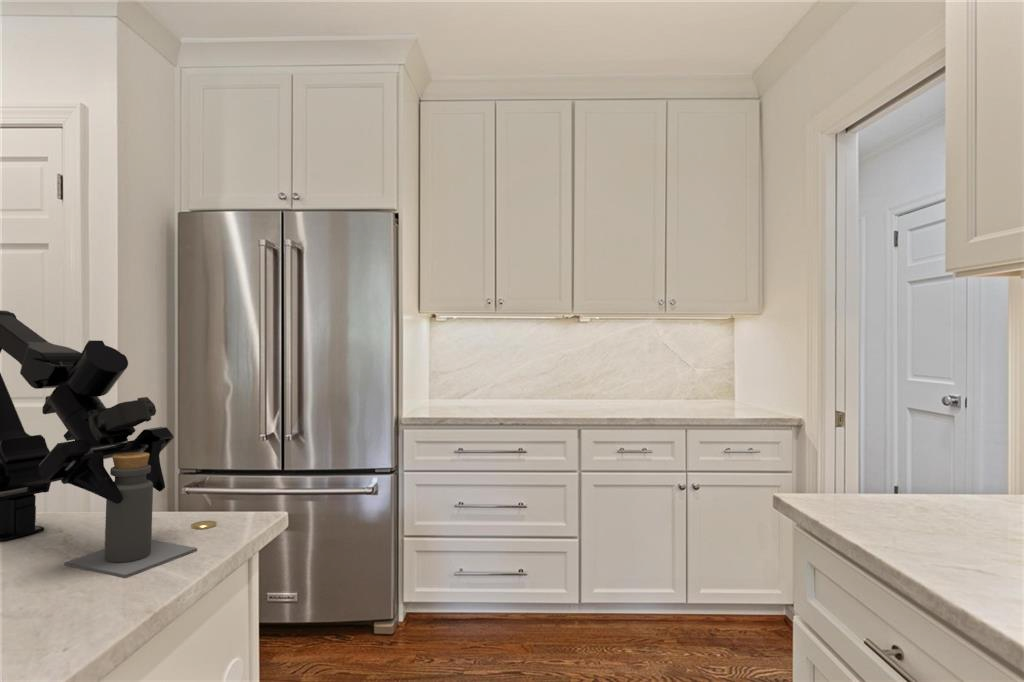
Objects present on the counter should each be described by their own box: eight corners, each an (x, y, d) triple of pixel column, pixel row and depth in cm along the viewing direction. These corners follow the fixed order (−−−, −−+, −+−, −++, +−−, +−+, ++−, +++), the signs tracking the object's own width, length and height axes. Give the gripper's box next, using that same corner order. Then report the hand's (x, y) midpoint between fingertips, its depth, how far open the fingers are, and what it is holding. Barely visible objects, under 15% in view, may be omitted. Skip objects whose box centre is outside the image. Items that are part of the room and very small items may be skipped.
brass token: (185, 527, 107) (185, 525, 107) (204, 521, 111) (204, 519, 111) (203, 530, 105) (203, 528, 105) (221, 523, 109) (221, 522, 109)
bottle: (118, 565, 87) (122, 459, 87) (95, 558, 90) (99, 455, 90) (159, 554, 92) (162, 454, 92) (136, 547, 95) (139, 449, 95)
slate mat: (64, 564, 88) (64, 562, 88) (139, 540, 100) (139, 537, 100) (125, 577, 84) (125, 574, 84) (197, 550, 96) (197, 547, 96)
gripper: (56, 384, 84) (120, 472, 81) (166, 377, 102) (220, 449, 99) (10, 438, 86) (70, 526, 83) (125, 422, 104) (178, 493, 101)
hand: (142, 495), depth 92 cm, fingers open, 7 cm apart
